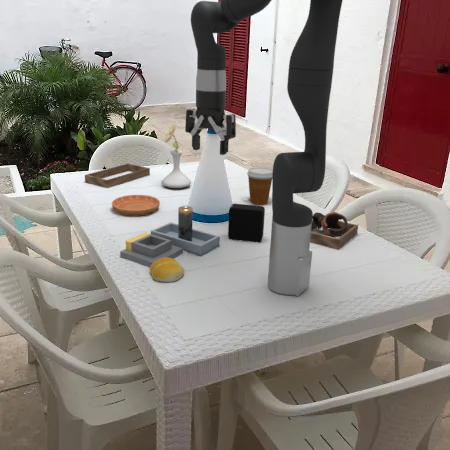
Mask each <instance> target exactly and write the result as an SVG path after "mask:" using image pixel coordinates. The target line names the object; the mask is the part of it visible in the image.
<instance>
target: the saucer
mask: <svg viewBox="0 0 450 450" xmlns="http://www.w3.org/2000/svg"><path fill="white" fill-rule="evenodd" d="M160 204H161V202H160V199H158V198H157V197H156V196H151V195H147V194H146V195H145V194H129V195H123V196H120V197H117V198H115V199H113V201H112V202H111V207H112V208H113V209H114V210H115V211H116V212H117V213H118V214H121V215H124V216H131V217H140V216H147V215H150V214H152V213H154V212H155V211H156V210H158V208H159V206H161V205H160Z"/></svg>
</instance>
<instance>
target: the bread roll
mask: <svg viewBox="0 0 450 450" xmlns="http://www.w3.org/2000/svg"><path fill="white" fill-rule="evenodd" d="M149 272H150V274H151V275H152V278H153V279H154V280H155V281H157V282H160V283H161V282H162V283H174V282H176V281H179V280H180V279H182V277H183V276H184V273H185V269H184V267H183V266H182V265H181V264H180V262H179V261H178V260H177V259H175V258H169V257H164V258H160V259H158V260H156V261H154V262H153V263H152V264H151V266H150V267H149Z"/></svg>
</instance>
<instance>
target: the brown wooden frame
mask: <svg viewBox="0 0 450 450" xmlns="http://www.w3.org/2000/svg"><path fill="white" fill-rule="evenodd" d="M125 172H129V173H126V174H122V173H125ZM118 174H122V175H119V176H118ZM115 175H117V176H115ZM150 175H151V169H150V167H146V166H142V165H137V164H132V163H124V164H121V165H117V166H114V167H109V168H106V169H102V170H98V171H94V172H92V173H87V174H84V183H87V184H90V185H93V186H97V187H101V188H104V189H105V188H106V189H109V188H113V187H116V186H120V185H123V184H125V183H129V182H132V181H135V180H136V181H137V180H139V179H143V178H145V177H148V176H150ZM112 176H115V177H112ZM108 177H112V178H108ZM106 178H108V179H106Z"/></svg>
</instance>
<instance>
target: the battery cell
mask: <svg viewBox="0 0 450 450" xmlns="http://www.w3.org/2000/svg"><path fill="white" fill-rule="evenodd" d="M193 210H194V208H193V207H192V206H189V205H182V206H179V207H178V210H177V211H178V213H177V214H178V215H177V216H178V217H177V218H178V220H177V221H178V222H177V224H178V238H180V239H184V240H187V241H190V242H192V229H193V217H194V216H193V214H194V213H193Z"/></svg>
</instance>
